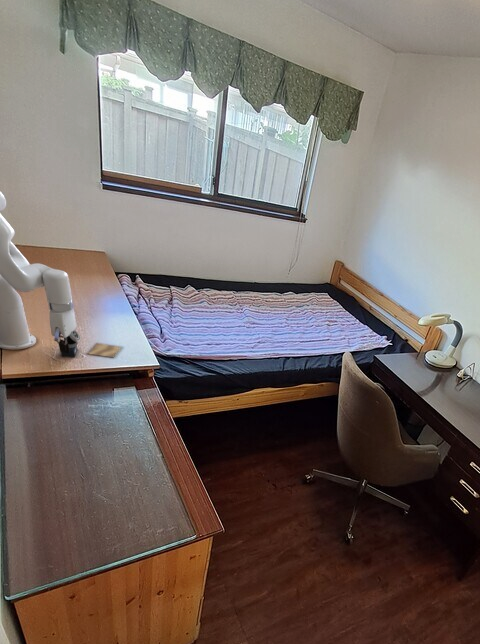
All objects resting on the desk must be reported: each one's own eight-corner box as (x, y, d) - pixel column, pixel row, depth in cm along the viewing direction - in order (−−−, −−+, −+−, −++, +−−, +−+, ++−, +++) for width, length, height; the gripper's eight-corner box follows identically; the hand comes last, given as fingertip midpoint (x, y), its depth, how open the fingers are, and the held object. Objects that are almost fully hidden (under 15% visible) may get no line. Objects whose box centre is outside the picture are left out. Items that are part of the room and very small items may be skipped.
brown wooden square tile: (87, 354, 153) (87, 353, 153) (96, 343, 160) (96, 343, 160) (113, 357, 155) (113, 357, 154) (121, 347, 162) (121, 346, 162)
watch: (80, 357, 150) (76, 332, 144) (56, 356, 147) (51, 331, 141) (83, 350, 154) (79, 325, 148) (59, 349, 151) (54, 324, 145)
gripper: (60, 295, 145) (68, 337, 155) (36, 312, 131) (46, 358, 141) (82, 298, 146) (88, 340, 156) (60, 316, 132) (69, 361, 142)
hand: (68, 348), depth 148 cm, fingers closed on watch, 5 cm apart
